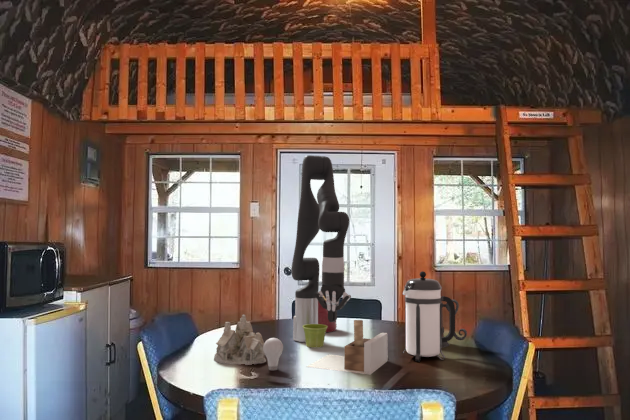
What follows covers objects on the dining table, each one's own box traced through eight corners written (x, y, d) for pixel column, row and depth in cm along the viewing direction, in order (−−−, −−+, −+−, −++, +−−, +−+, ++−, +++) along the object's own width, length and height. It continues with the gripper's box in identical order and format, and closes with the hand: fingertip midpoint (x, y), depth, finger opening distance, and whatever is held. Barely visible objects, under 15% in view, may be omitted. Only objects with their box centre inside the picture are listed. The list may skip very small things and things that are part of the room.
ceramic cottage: (210, 357, 179) (213, 314, 179) (254, 354, 187) (257, 312, 187) (223, 370, 165) (226, 324, 166) (270, 367, 173) (273, 322, 173)
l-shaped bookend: (306, 371, 162) (306, 337, 162) (328, 358, 178) (328, 328, 179) (370, 379, 153) (370, 343, 154) (387, 365, 170) (387, 333, 170)
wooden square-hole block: (344, 369, 159) (344, 346, 159) (359, 359, 171) (359, 337, 172) (366, 371, 156) (366, 348, 156) (379, 361, 169) (379, 339, 169)
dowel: (353, 360, 160) (352, 321, 161) (355, 358, 162) (355, 319, 163) (361, 360, 159) (361, 321, 159) (364, 359, 161) (364, 320, 162)
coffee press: (440, 365, 170) (439, 273, 171) (394, 359, 178) (394, 271, 180) (455, 355, 184) (455, 270, 186) (413, 349, 193) (413, 268, 194)
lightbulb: (263, 371, 161) (263, 336, 162) (282, 371, 162) (282, 335, 162) (262, 377, 155) (263, 340, 156) (283, 376, 156) (283, 339, 156)
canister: (341, 329, 233) (342, 290, 234) (327, 334, 222) (327, 292, 223) (317, 326, 240) (317, 288, 241) (302, 330, 229) (302, 290, 230)
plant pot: (330, 348, 195) (330, 324, 195) (322, 353, 186) (322, 329, 187) (307, 346, 198) (307, 323, 199) (298, 351, 189) (298, 327, 190)
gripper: (310, 270, 174) (310, 321, 174) (347, 272, 169) (346, 325, 169) (319, 268, 181) (319, 318, 181) (355, 270, 176) (354, 321, 176)
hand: (332, 321), depth 175 cm, fingers closed
